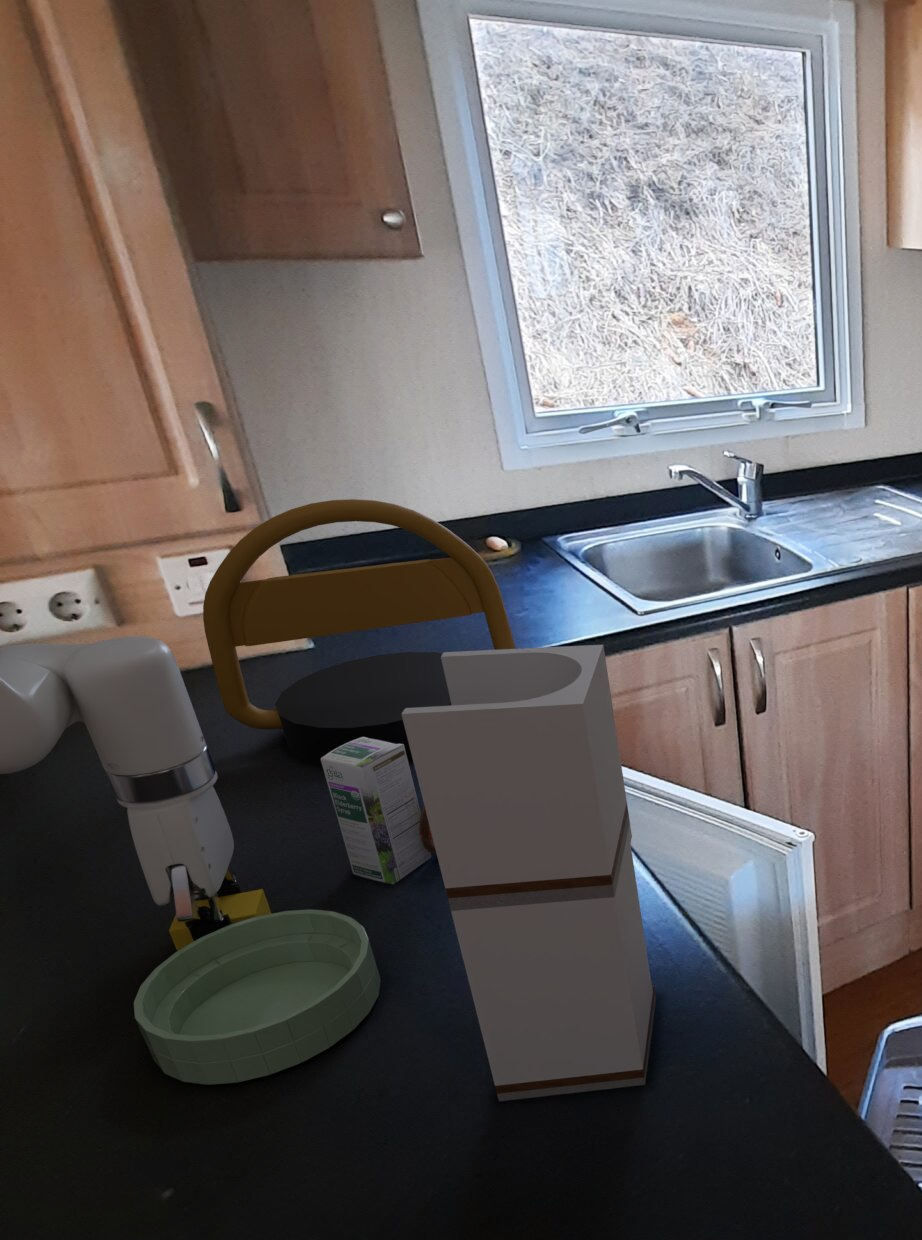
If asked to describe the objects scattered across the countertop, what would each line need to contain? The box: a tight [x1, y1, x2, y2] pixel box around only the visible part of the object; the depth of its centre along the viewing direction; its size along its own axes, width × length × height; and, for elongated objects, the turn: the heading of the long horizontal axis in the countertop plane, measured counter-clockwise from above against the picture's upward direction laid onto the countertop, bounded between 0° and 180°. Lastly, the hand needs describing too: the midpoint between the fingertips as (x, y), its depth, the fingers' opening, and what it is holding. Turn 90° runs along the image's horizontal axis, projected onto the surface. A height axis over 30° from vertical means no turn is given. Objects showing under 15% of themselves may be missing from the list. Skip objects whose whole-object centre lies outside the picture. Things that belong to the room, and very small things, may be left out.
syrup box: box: [321, 737, 432, 885], centre depth 111 cm, size 6×6×14 cm
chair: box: [202, 498, 517, 768], centre depth 136 cm, size 25×35×32 cm
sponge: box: [168, 888, 272, 952], centre depth 101 cm, size 7×4×4 cm, turn 112°
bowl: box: [133, 908, 382, 1086], centre depth 92 cm, size 17×17×6 cm
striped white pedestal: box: [402, 644, 657, 1102], centre depth 82 cm, size 11×11×35 cm
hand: (225, 935), depth 102 cm, fingers closed on sponge, 4 cm apart
